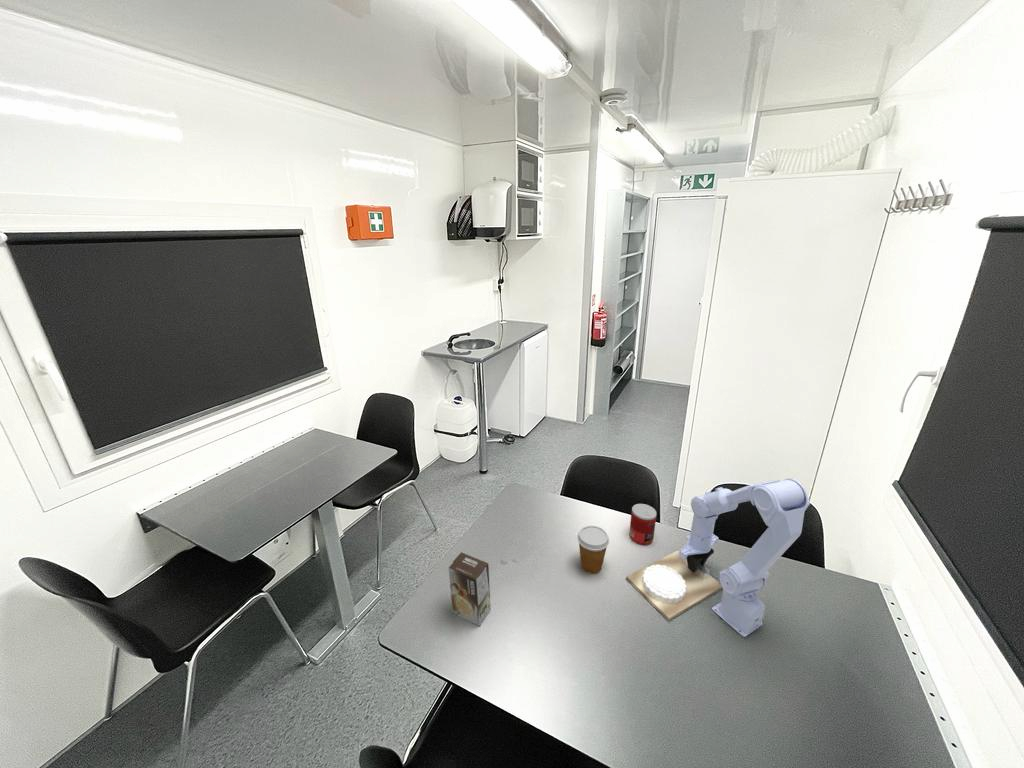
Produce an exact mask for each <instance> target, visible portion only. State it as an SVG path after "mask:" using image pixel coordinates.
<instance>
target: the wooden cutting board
mask: <svg viewBox="0 0 1024 768" xmlns="http://www.w3.org/2000/svg"><path fill="white" fill-rule="evenodd" d="M679 552H680V550H676V551H673V552H672V553H670V554H668V555H666V556H664V557H662V558H659V559H658V560H656V561H654V562H652V563H650V564H648V565H646V566H644V567H642V568H640V569H639V570H636V571H634V572H632V573H630V574H628V575H626V577H625V579H626V580H627V581H628V583H630V584H631V585H632V586H633V587H634V589H635V590H637V591H638V592H639V594H641V595H642V597H644V598H645V599H646V600H647V601H648V602H649V603H650V604H651V605H652V606H653V607H654V608H655V609H656V610H657V612H659V613H660V614H661V615H662V616H663V617H664V618H665V619H666V620H667V621H668V622H669V621H671V620H673V619H674V618H676V617H678V616H679V615H681V614H684V612H686V611H687V610H689V609H691V608H693V607H694V606H696V605H697V604H700V603H701V602H703V601H704V600H706V599H707V598H709V597H711V596H712V595H715V594H716V593H718V592H719V591H721V590H723V587H722V585H721V583H720V581H717V579H715V578H713V577H712V575H710V574H711V570H710V569H709V568H707V567H706V566H705V565H704V566H703V565H702V564H701V563H699V564H698V567H697V570H696V571H695V572H694V573H693V572H692V571H691V570H690V569H688V563H687V559H685V560H684V559H683V558H682V557H680V556H679ZM651 565H655V566H656V565H665V566H666V567H670V568H672V569H673V570H675V571H677V572H678V574H680V575H681V576H682V577H683V579H684V580H685V582H686V583H685V584H686V586H687V589H686V594H685V597H684V598H683V600H682V601H679V602H678V603H674V602H673V603H672V604H669V603H663V602H661V601H658V600H656V599H655V598H654V597H651V596H650V595H649V593H647V592H646V591H645V588H644V587H643V582H642V576H643V573H644V571H645V570H646V568H647V567H650V566H651Z"/></svg>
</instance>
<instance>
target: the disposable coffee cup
mask: <svg viewBox="0 0 1024 768" xmlns="http://www.w3.org/2000/svg"><path fill="white" fill-rule="evenodd" d="M576 537H577V538H576V539H577V542H578V543H579V544H578V545H579V546H578V547H579V559H580V567H581V569H582V570H583V571H584V572H585V573H587V574H589V575H595V574H598V573H600V572H601V570H602V568H603V564H604V559H605V556H606V552H607V548H608V546H609V544H610V538H609V536H608V533H607V531H606V530H604V529H603V528H602V527H601V526H596V525H586V526H583V527H582V528H581V529H579V532H578V533H577V536H576Z"/></svg>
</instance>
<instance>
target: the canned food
mask: <svg viewBox="0 0 1024 768" xmlns="http://www.w3.org/2000/svg"><path fill="white" fill-rule="evenodd" d="M656 522H657V510H656V509H655V508H654V507H652V506H651V505H649V504H646V503H645V504H644V503H636V504H634V505H633V506H632V507H631V515H630V524H629V532H628V533H629V537H630V539H631V540H632V541H633V542H634V543H636V544H638V545H641V546H645V545H646V546H648V545H650V544H651V543H653V540H654V536H655V528H656Z"/></svg>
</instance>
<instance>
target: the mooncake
mask: <svg viewBox="0 0 1024 768" xmlns="http://www.w3.org/2000/svg"><path fill="white" fill-rule="evenodd" d="M642 582H643V587H644V588H645V591H646V592H647V593H649V595H650V596H651V597H654V598H655V599H656V600H658V601H661V602H663V603H669V604H672V603H673V602H674V603H678V602H679V601H682V600H683V598H684V597H685V594H686V589H687V586H686V584H685V583H686V582H685V580H684V579H683V577H682V576H681V575H680V574H678V572H677V571H675V570H673V569H672V568H670V567H666V566H665V565H656V566H655V565H651V566H650V567H647V568H646V570H645V571H644V573H643V576H642Z"/></svg>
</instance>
